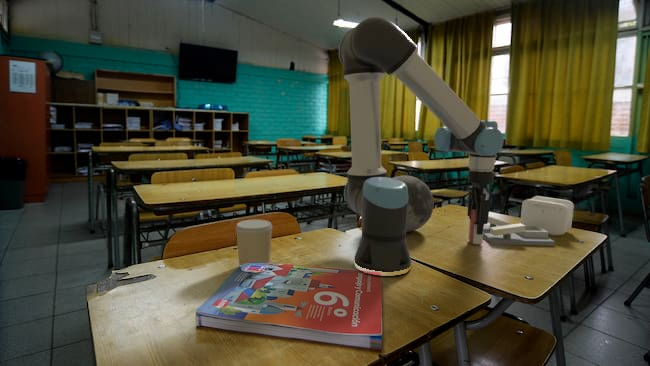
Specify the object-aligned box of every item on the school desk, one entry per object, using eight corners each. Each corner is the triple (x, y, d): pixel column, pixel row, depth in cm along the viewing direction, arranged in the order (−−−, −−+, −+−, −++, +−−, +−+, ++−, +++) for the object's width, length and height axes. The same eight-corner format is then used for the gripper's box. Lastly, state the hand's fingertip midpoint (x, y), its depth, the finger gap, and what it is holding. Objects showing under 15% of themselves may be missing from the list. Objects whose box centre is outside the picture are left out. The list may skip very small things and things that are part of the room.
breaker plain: (481, 220, 134) (482, 215, 134) (477, 218, 137) (479, 213, 137) (507, 228, 135) (509, 223, 134) (504, 226, 138) (506, 220, 137)
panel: (491, 244, 123) (492, 234, 122) (471, 228, 141) (472, 219, 140) (554, 245, 123) (555, 235, 122) (526, 230, 140) (527, 220, 140)
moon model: (368, 234, 132) (370, 177, 129) (382, 220, 150) (385, 170, 147) (427, 242, 124) (431, 181, 121) (435, 227, 143) (438, 174, 139)
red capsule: (471, 244, 122) (474, 211, 120) (467, 241, 126) (470, 208, 124) (482, 245, 122) (485, 211, 120) (478, 241, 126) (481, 209, 124)
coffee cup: (259, 258, 107) (258, 217, 105) (279, 268, 100) (279, 224, 99) (229, 267, 101) (228, 223, 99) (249, 277, 94) (248, 230, 92)
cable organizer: (573, 232, 138) (577, 201, 136) (563, 238, 131) (567, 205, 129) (529, 224, 149) (533, 195, 147) (518, 228, 142) (521, 198, 141)
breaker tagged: (494, 236, 124) (494, 230, 123) (490, 233, 127) (490, 227, 127) (525, 231, 123) (525, 225, 123) (520, 228, 126) (520, 223, 126)
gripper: (504, 173, 112) (497, 250, 116) (482, 167, 128) (477, 234, 132) (479, 173, 112) (472, 249, 116) (460, 166, 128) (455, 233, 132)
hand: (475, 241), depth 124 cm, fingers closed on red capsule, 3 cm apart
